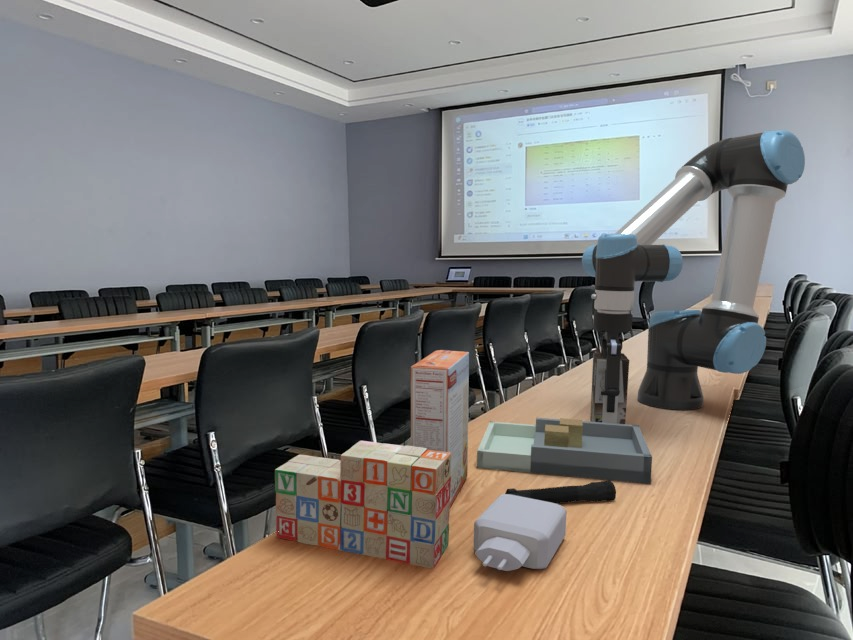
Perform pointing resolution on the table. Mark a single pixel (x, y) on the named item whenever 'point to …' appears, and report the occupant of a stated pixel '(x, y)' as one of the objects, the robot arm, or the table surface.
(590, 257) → the robot arm
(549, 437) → the tan yellow cube
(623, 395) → the coffee box
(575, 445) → the tan wooden cube
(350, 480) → the stack of blocks
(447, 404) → the cracker box
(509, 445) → the tray
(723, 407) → the table surface
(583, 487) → the flashlight
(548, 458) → the blue gray tray
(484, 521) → the charger
